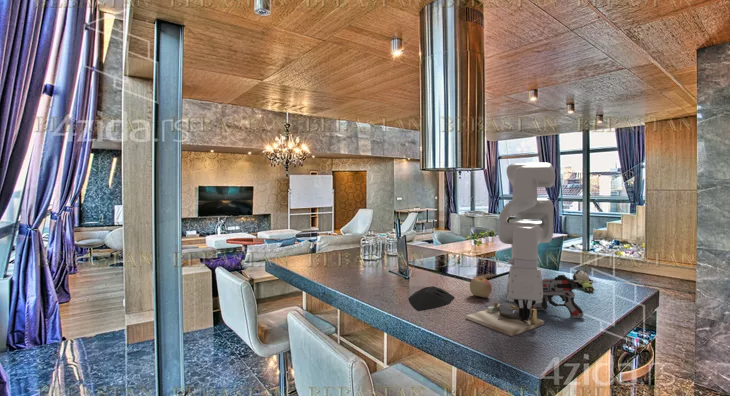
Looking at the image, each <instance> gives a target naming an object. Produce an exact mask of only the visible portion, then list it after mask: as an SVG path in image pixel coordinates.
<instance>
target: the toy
mask: <svg viewBox="0 0 730 396" xmlns="http://www.w3.org/2000/svg"><path fill="white" fill-rule="evenodd" d="M572 279H573V280H574V282H575V284H577V288H578V287H579V288H582V289H583V290H584V291H585V292H587V293H594V291H595V290H594V287H593V283H595V284H596V283H597V281H596V280H593V279H591V278H590V277H589V274H588V272H587V271H586V270H582V269H579V270H578V269H577V270H576V271H575V272H574V273H573V274H572Z"/></svg>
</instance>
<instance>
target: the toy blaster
mask: <svg viewBox="0 0 730 396" xmlns="http://www.w3.org/2000/svg"><path fill="white" fill-rule="evenodd" d="M542 286H543V298H542V303H535V304H534V305H533V306H532V307H531V308H534V309H537V311H546V310H547V309H548V308H549V307H548V306H549V305H548V304H550V305H552V306H553V307H566V309H567V310H568V312H569V316H570V318H571V319H582V318H583V317H584V311H583V309H582V308H581V307H580V306H579V305H578V304H576V302H575V296H576V293H575V292H574V291H573V290H575V288H578V286H577V284H575V282H574V280H573V278H569V277H568V276H566V275H565V274H559V275H557V276H555V277H554V278H542ZM554 296H556V297H557V296H559V297H560V299H561V301H562V302H563V304H561V303H556V302H555V301H553V297H554ZM522 301H523V306H525V302H526V300H522ZM531 308H530V311H531Z"/></svg>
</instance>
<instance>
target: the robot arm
mask: <svg viewBox="0 0 730 396" xmlns="http://www.w3.org/2000/svg"><path fill="white" fill-rule="evenodd" d="M506 175H507V179H508V181H509V182H510V185H511V187H512V198H511V200H510V201H508V202H507V203H506V204H505V205H504V206H503V208H502V209H501V211H500V213H499V216H498V227H497V228H498V231H497V235H498V240H499V241H500V243H502V244H505V245H511V259H507V264H509V265H511V266H510V267H509V272H508V276H507V286H506V287H507V290H506V291H507V296H506V299H507V301H508V302H511V303H514V304H516V305H518V306H519V317H521V319H522V321H524V320H526V321H528V318H529V317H530V316H531V310H530V308H531V307H532V306H533V305H534V304H535V303H542V298H543V286H542V281H543V277H542V271H541V269H540V268H538V258H539V257H538V256H539V255H538V253H539V250H538V249H539V248H538V247H539V245H540V244H548V243H550V242H552V239H553V237H554V236H553V234H554V210H555V209H554V203H553V202H552V200H551V199H549V198H545V197H538V188H539V189H540V188H543V189H544V188H545V189H546V188H552V187H554V185H555V182H556V171H555V167H554V166H553V165H552V164H551V163H550V162H522V163H521V162H519V163H511V164H509V165H508V166H507V167H506ZM512 216H514V217H515V218H517V219H518V220H515V221H513V222H508V219H510V217H512ZM522 300H526V302H525V306H523V301H522Z"/></svg>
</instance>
